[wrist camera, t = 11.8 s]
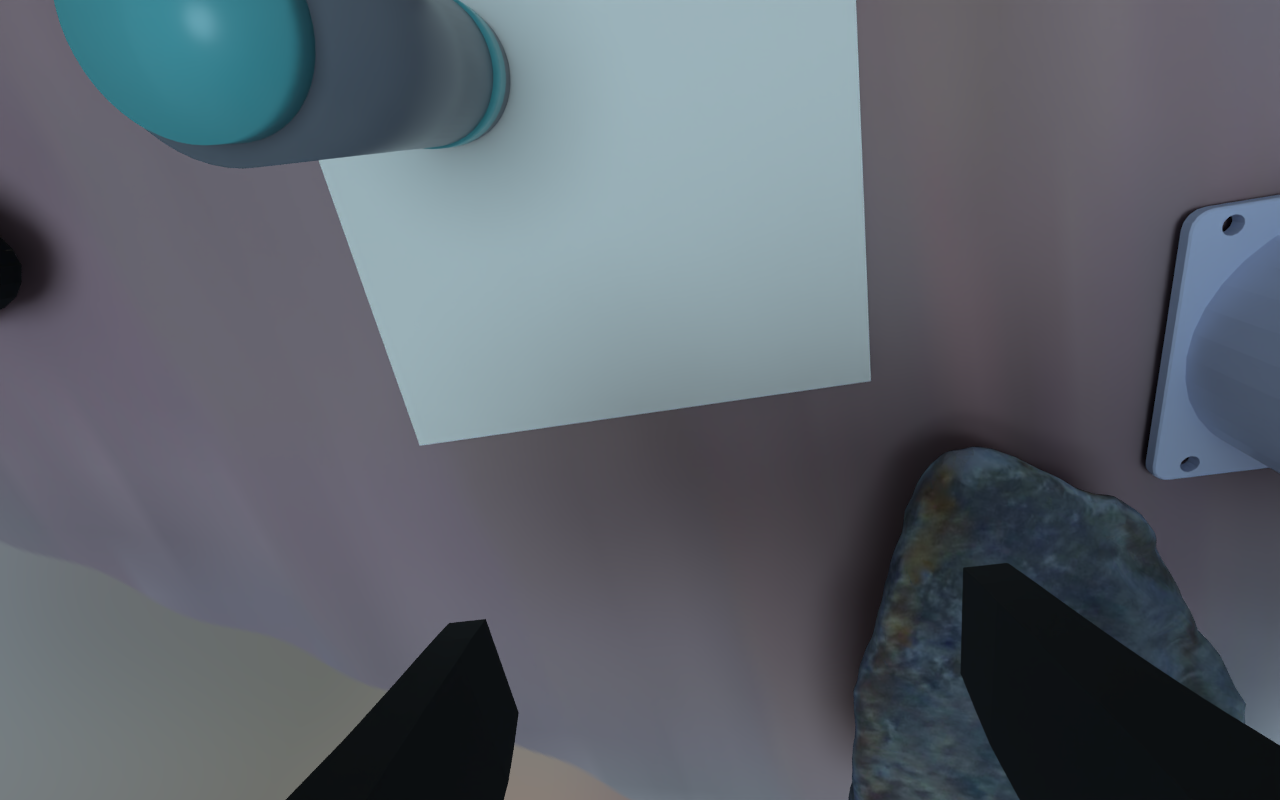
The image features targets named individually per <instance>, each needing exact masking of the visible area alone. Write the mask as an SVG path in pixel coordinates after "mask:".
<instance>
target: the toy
mask: <svg viewBox="0 0 1280 800" xmlns="http://www.w3.org/2000/svg"><path fill="white" fill-rule="evenodd" d="M20 285H21V263H20V261H19V260H18V258H17V256H16V255H15V253H14V251H13V249H12V248H11V247H10V246H9V245H8V244H7V243H6V242H5V241H4V240H3V239H2V238H1V237H0V309H2V308H5V307H6V306H7V305H8V304H9V303H10V302H11V301H12V300H13V299H14V298H15V297H16V296H17V293H18V290H19V287H20Z"/></svg>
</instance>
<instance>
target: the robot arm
mask: <svg viewBox="0 0 1280 800" xmlns="http://www.w3.org/2000/svg"><path fill="white" fill-rule="evenodd" d="M1230 216H1232V223H1231V225H1230V227H1229V228H1228V229H1227V230H1226V231H1224V232H1223V231H1222V226H1223V224H1224V221H1225V220H1226V219H1228V218H1229V217H1230ZM1187 457H1189V459H1188V461H1186V462H1185V463H1184V464H1181V462H1182V461H1183V460H1184V459H1185V458H1187ZM1180 464H1181V465H1180ZM1146 468H1147V470H1148V471H1149V472H1150V473H1151V474H1153V475H1154V476H1155V477H1157V478H1159V479H1161V480H1171V479H1179V478H1187V477H1196V476H1204V475H1213V474H1221V473H1229V472H1238V471H1246V470H1255V469H1263V468H1271V469H1273V470H1275V471H1276V472H1278V473H1280V195H1273V196H1267V197H1261V198H1255V199H1249V200H1243V201H1237V202H1231V203H1225V204H1219V205H1213V206H1207V207H1203V208H1200V209H1197V210H1195V211H1194V212H1193V213H1191V214H1190V215H1189V216H1188V217H1187V218H1186V220H1185V221H1184V222H1183V225H1182V228H1181V232H1180V239H1179V246H1178V252H1177V259H1176V265H1175V272H1174V279H1173V285H1172V292H1171V298H1170V305H1169V312H1168V318H1167V325H1166V331H1165V338H1164V345H1163V351H1162V358H1161V365H1160V371H1159V378H1158V384H1157V391H1156V398H1155V404H1154V411H1153V417H1152V424H1151V431H1150V437H1149V444H1148V450H1147V457H1146ZM960 673H961V676H962V678H963V681H964V683H965V686H966V688H967V691H968V693H969V696H970V698H971V701H972V703H973V706H974V708H975V711H976V713H977V715H978V718H979V720H980V722H981V725H982V727H983V730H984V732H985V734H986V737H987V739H988V741H989V744H990V746H991V748H992V750H993V751H994V753H995V755H996V757H997V759H998V761H999V763H1000V765H1001V766H1002V768H1003V770H1004V772H1005V774H1006V776H1007V777H1008V779H1009V781H1010V783H1011V785H1012V787H1013V789H1014V790H1015V792H1016V794H1017V796H1018V798H1019V800H1280V745H1278V744H1276V743H1275V742H1273V741H1271V740H1270V739H1268V738H1267V737H1265V736H1263V735H1262V734H1260V733H1259V732H1257V731H1255V730H1254V729H1252V728H1251V727H1249V726H1247V725H1246V724H1244V723H1242V722H1241V721H1239V720H1238V719H1236V718H1234V717H1233V716H1231V715H1230V714H1228V713H1226V712H1225V711H1223V710H1222V709H1220V708H1218V707H1217V706H1215V705H1214V704H1212V703H1210V702H1209V701H1207V700H1206V699H1204V698H1202V697H1201V696H1199V695H1198V694H1196V693H1195V692H1193V691H1192V690H1190V689H1189V688H1187V687H1186V686H1184V685H1182V684H1181V683H1179V682H1178V681H1176V680H1175V679H1173V678H1172V677H1170V676H1169V675H1167V674H1166V673H1164V672H1163V671H1161V670H1160V669H1158V668H1157V667H1155V666H1154V665H1152V664H1151V663H1149V662H1148V661H1146V660H1145V659H1143V658H1142V657H1140V656H1139V655H1138V654H1136V653H1135V652H1133V651H1132V650H1130V649H1129V648H1127V647H1126V646H1124V645H1123V644H1121V643H1120V642H1119V641H1117V640H1116V639H1114V638H1113V637H1111V636H1110V635H1109V634H1107V633H1106V632H1104V631H1103V630H1101V629H1100V628H1099V627H1097V626H1096V625H1094V624H1093V623H1092V622H1090V621H1089V620H1087V619H1086V618H1084V617H1083V616H1082V615H1080V614H1079V613H1077V612H1076V611H1075V610H1073V609H1072V608H1070V607H1069V606H1068V605H1066V604H1065V603H1063V602H1062V601H1061V600H1059V599H1058V598H1057V597H1055V596H1054V595H1052V594H1051V593H1050V592H1048V591H1047V590H1045V589H1044V588H1043V587H1041V586H1040V585H1038V584H1037V583H1036V582H1034V581H1033V580H1032V579H1030V578H1029V577H1027V576H1026V575H1025V574H1023V573H1022V572H1020V571H1019V570H1017V569H1016V568H1015V567H1013V566H1012V565H1010V564H1009V563H1001V564H991V565H982V566H973V567H964V568H963V591H962V631H961V672H960ZM517 720H518V710H517V707H516V704H515V701H514V698H513V696H512V693H511V690H510V687H509V684H508V681H507V679H506V676H505V673H504V670H503V667H502V664H501V661H500V659H499V656H498V653H497V650H496V647H495V644H494V642H493V639H492V636H491V633H490V630H489V627H488V625H487V622H486V619H483V620H474V621H465V622H456V623H449V624H448V625H447V626H446V627H445V628H444V629H443V630H442V631H441V632H440V633H439V634H438V636H437V637H436V638H435V639H434V640H433V641H432V642H431V643H430V644H429V645H428V647H427V648H426V649H425V650H424V651H423V652H422V653H421V654H420V656H419V657H418V658H417V659H416V660H415V661H414V662H413V663H412V665H411V666H410V667H409V668H408V669H407V670H406V671H405V673H404V674H403V675H402V676H401V677H400V678H399V679H398V680H397V682H396V683H395V684H394V685H393V686H392V687H391V688H390V690H389V691H388V692H387V693H386V694H385V695H384V696H383V697H382V698H381V699H380V701H379V702H378V703H377V704H376V705H375V706H374V707H373V708H372V710H371V711H370V712H369V713H368V714H367V715H366V716H365V717H364V718H363V719H362V721H361V722H360V723H359V724H358V725H357V726H356V727H355V728H354V729H353V731H352V732H351V733H350V734H349V735H348V736H347V737H346V738H345V739H344V740H343V741H342V742H341V744H339V745H338V746H337V747H336V749H335V750H334V751H333V752H332V753H331V754H330V755H329V756H328V757H327V758H326V759H325V760H324V761H323V762H322V763H321V764H320V765H319V766H318V767H317V768H316V769H315V770H314V771H313V772H312V773H311V774H310V775H309V776H308V777H307V778H306V779H305V780H304V782H302V784H301V785H300V786H299V787H298V788H297V789H296V790H295V791H294V792H293V793H292V794H291V795H290V796H289V797H288V798H287V799H286V800H504V796H505V792H506V788H507V785H508V780H509V773H510V768H511V762H512V755H513V750H514V742H515V735H516V728H517Z"/></svg>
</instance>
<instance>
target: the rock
mask: <svg viewBox="0 0 1280 800" xmlns="http://www.w3.org/2000/svg"><path fill="white" fill-rule="evenodd" d="M1001 563H1009V564H1010V565H1012V566H1013V567H1015V568H1016V569H1017V570H1019V571H1020V572H1022V573H1023V574H1025V575H1026V576H1027V577H1029V578H1030V579H1032V580H1033V581H1034V582H1036V583H1037V584H1038V585H1040V586H1041V587H1043V588H1044V589H1045V590H1047V591H1048V592H1050V593H1051V594H1052V595H1054V596H1055V597H1057V598H1058V599H1059V600H1061V601H1062V602H1063V603H1065V604H1066V605H1068V606H1069V607H1070V608H1072V609H1073V610H1075V611H1076V612H1077V613H1079V614H1080V615H1082V616H1083V617H1084V618H1086V619H1087V620H1089V621H1090V622H1092V623H1093V624H1094V625H1096V626H1097V627H1099V628H1100V629H1101V630H1103V631H1104V632H1106V633H1107V634H1109V635H1110V636H1111V637H1113V638H1114V639H1116V640H1117V641H1119V642H1120V643H1121V644H1123V645H1124V646H1126V647H1127V648H1129V649H1130V650H1132V651H1133V652H1135V653H1136V654H1138V655H1139V656H1140V657H1142V658H1143V659H1145V660H1146V661H1148V662H1149V663H1151V664H1152V665H1154V666H1155V667H1157V668H1158V669H1160V670H1161V671H1163V672H1164V673H1166V674H1167V675H1169V676H1170V677H1172V678H1173V679H1175V680H1176V681H1178V682H1179V683H1181V684H1182V685H1184V686H1186V687H1187V688H1189V689H1190V690H1192V691H1193V692H1195V693H1196V694H1198V695H1199V696H1201V697H1202V698H1204V699H1206V700H1207V701H1209V702H1210V703H1212V704H1214V705H1215V706H1217V707H1218V708H1220V709H1222V710H1223V711H1225V712H1226V713H1228V714H1230V715H1231V716H1233V717H1234V718H1236V719H1238V720H1239V721H1241V722H1242V723H1244V724H1245V717H1244V713H1245V706H1246V704H1245V702H1244V700H1243V699H1242V697H1241V696H1240V694H1239V693H1238V691H1237V690H1236V688H1235V686H1234V684H1233V682H1232V680H1231V678H1230V676H1229V673H1228V671H1227V669H1226V667H1225V665H1224V663H1223V661H1222V658H1221V656H1220V655H1219V654H1218V652H1217V651H1216V650H1215V649H1214V647H1213V646H1212V645H1211V643H1210V642H1209V641H1208V640H1207V639H1206V638H1205V637H1204V636H1203V635H1202V634H1201V633H1200V632H1199V631H1198V630H1197V627H1196V624H1195V621H1194V619H1193V617H1192V614H1191V612H1190V610H1189V608H1188V607H1187V605H1186V603H1185V602H1184V600H1183V598H1182V596H1181V594H1180V591H1179V588H1178V586H1177V584H1176V583H1175V581H1174V579H1173V577H1172V576H1171V574H1170V572H1169V570H1168V569H1167V567H1166V566H1165V564H1164V563H1163V561H1162V559H1161V557H1160V555H1159V553H1158V551H1157V549H1156V536H1155V533H1154V531H1153V530H1152V528H1151V527H1150V526H1149V524H1148V523H1147V522H1146V520H1145V519H1144V518H1143V516H1142V515H1141V514H1140V513H1138V512H1137V511H1136V510H1134V509H1133V508H1131V507H1130V506H1128V505H1127V504H1125V503H1124V502H1122V501H1121V500H1119V499H1117V498H1116V497H1114V496H1110V495H1099V494H1093V493H1090V492H1086V491H1083V490H1080V489H1077V488H1074V487H1073V486H1071V485H1069V484H1068V483H1066V482H1065V481H1063V480H1061V479H1060V478H1058V477H1055V476H1053V475H1051V474H1049V473H1047V472H1044V471H1042V470H1040V469H1038V468H1036V467H1034V466H1032V465H1030V464H1028V463H1026V462H1024V461H1022V460H1020V459H1018V458H1016V457H1014V456H1011V455H1008V454H1005V453H1002V452H999V451H996V450H994V449H990V448H984V447H969V448H965V449H960V450H954V451H949V452H945V453H944V454H942V455H941V456H940V457H939V458H938V459H937V460H936V461H934V462H933V463H932V464H931V465H930V466H929V467H928V468H927V470H926V471H925V472H924V473H923V475H922V476H921V478H920V480H919V481H918V483H917V485H916V487H915V490H914V493H913V496H912V498H911V500H910V502H909V504H908V505H907V507H906V509H905V515H904V522H903V529H902V533H901V536H900V538H899V541H898V543H897V545H896V548H895V550H894V553H893V556H892V560H891V563H890V567H889V573H888V577H887V579H886V582H885V586H884V592H883V597H882V602H881V605H880V608H879V611H878V615H877V619H876V624H875V629H874V632H873V636H872V638H871V640H870V642H869V644H868V646H867V647H866V650H865V653H864V656H863V659H862V661H861V664H860V667H859V674H858V680H857V683H856V685H855V688H854V714H855V725H856V726H855V739H854V743H853V755H852V768H853V772H852V784H851V787H850V793H849V800H1019V798H1018V796H1017V794H1016V792H1015V790H1014V789H1013V787H1012V785H1011V783H1010V781H1009V779H1008V777H1007V776H1006V774H1005V772H1004V770H1003V768H1002V766H1001V765H1000V763H999V761H998V759H997V757H996V755H995V753H994V751H993V750H992V748H991V746H990V744H989V741H988V739H987V737H986V734H985V732H984V730H983V727H982V725H981V722H980V720H979V718H978V715H977V713H976V711H975V708H974V706H973V703H972V701H971V698H970V696H969V693H968V691H967V688H966V686H965V683H964V681H963V678H962V676H961V673H960V672H961V631H962V591H963V568H964V567H973V566H982V565H991V564H1001Z"/></svg>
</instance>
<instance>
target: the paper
mask: <svg viewBox="0 0 1280 800" xmlns="http://www.w3.org/2000/svg"><path fill="white" fill-rule="evenodd" d="M459 1H461V2H463V3H464V4H466V5H467V6H469V7H470V8H471V9H473V10H474V11H475V12H476V13H477V14H478V15H479V16H480V17H481V18H483V19H484V20H485V21H486V22H487V23H488V24H489V26H490V27H491V28H492V29H493V30H494V32H495V33H496V35H497V36H498V38H499V40H500V42H501V44H502V46H503V48H504V50H505V53H506V56H507V60H508V63H509V69H510V94H509V98H508V102H507V105H506V108H505V111H504V113H503V115H502V116H501V118H500V120H499V121H498V123H497V124H496V125H495V126H494V127H493V128H492V129H491V130H490V131H489V132H488V133H487V134H485V135H484V136H482V137H481V138H479V139H477V140H474V141H472V142H469V143H467V144H464V145H461V146H457V147H450V148H442V149H423V148H421V149H413V150H404V151H395V152H386V153H378V154H369V155H360V156H351V157H343V158H334V159H325V160H319V163H320V165H321V168H322V171H323V174H324V177H325V180H326V182H327V185H328V188H329V191H330V194H331V196H332V199H333V202H334V205H335V208H336V211H337V213H338V216H339V219H340V222H341V225H342V227H343V230H344V233H345V236H346V239H347V242H348V244H349V247H350V250H351V253H352V256H353V258H354V261H355V264H356V267H357V270H358V273H359V275H360V278H361V281H362V284H363V287H364V289H365V292H366V295H367V298H368V301H369V304H370V306H371V309H372V312H373V315H374V318H375V320H376V323H377V326H378V329H379V332H380V335H381V337H382V340H383V343H384V346H385V349H386V351H387V354H388V357H389V360H390V363H391V366H392V368H393V371H394V374H395V377H396V380H397V383H398V385H399V388H400V391H401V394H402V397H403V399H404V402H405V405H406V408H407V411H408V414H409V416H410V419H411V422H412V425H413V428H414V430H415V433H416V436H417V439H418V442H419V445H420V446H421V445H428V444H435V443H442V442H449V441H456V440H463V439H470V438H477V437H484V436H491V435H498V434H505V433H512V432H519V431H526V430H533V429H540V428H547V427H554V426H561V425H568V424H575V423H582V422H589V421H596V420H603V419H610V418H617V417H623V416H630V415H637V414H644V413H651V412H658V411H665V410H672V409H679V408H686V407H693V406H700V405H707V404H714V403H721V402H728V401H735V400H742V399H749V398H756V397H763V396H770V395H777V394H784V393H791V392H798V391H805V390H812V389H819V388H826V387H833V386H840V385H847V384H854V383H861V382H868V381H871V369H870V344H869V319H868V294H867V268H866V243H865V218H864V193H863V167H862V142H861V117H860V92H859V66H858V41H857V16H856V0H459Z"/></svg>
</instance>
